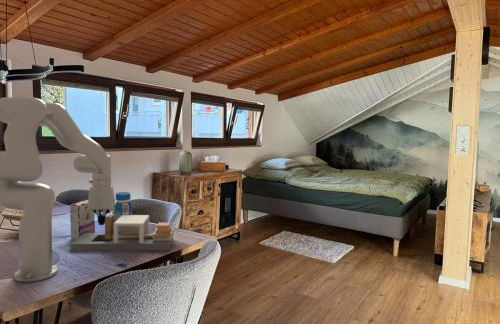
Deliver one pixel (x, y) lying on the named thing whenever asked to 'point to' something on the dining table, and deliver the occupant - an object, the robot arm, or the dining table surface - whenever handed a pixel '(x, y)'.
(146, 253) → the dining table surface
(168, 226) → the terracotta block
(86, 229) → the candy bar box
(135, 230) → the track board
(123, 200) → the beverage bottle
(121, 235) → the sled
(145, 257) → the dining table surface
